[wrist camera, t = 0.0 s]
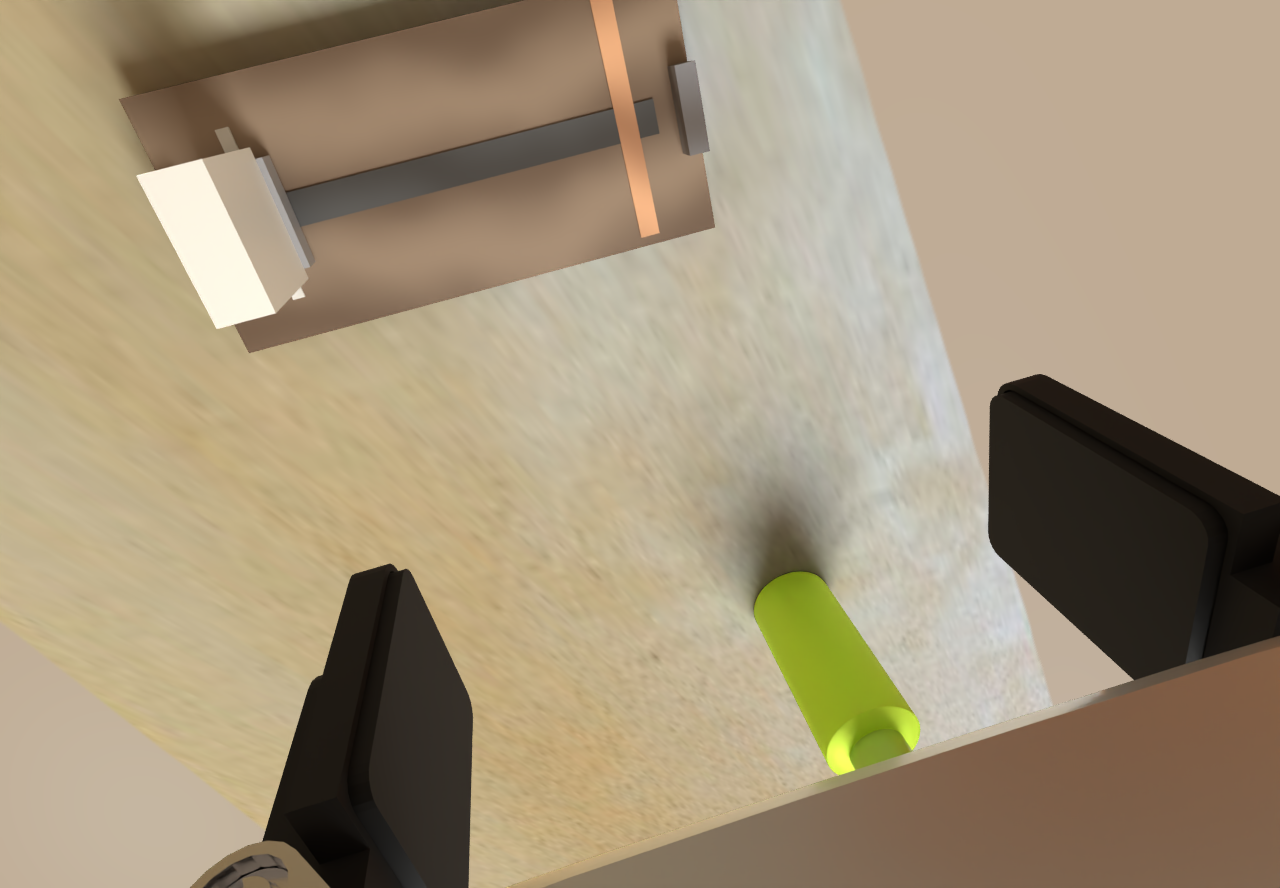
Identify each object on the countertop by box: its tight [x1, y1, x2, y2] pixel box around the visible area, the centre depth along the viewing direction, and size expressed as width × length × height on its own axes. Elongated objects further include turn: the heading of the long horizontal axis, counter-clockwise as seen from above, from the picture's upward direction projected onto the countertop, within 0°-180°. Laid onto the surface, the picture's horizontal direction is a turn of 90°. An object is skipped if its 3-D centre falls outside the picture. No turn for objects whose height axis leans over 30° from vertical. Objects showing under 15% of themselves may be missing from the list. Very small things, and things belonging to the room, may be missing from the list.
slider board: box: [119, 0, 715, 353], centre depth 35 cm, size 12×25×4 cm, turn 103°
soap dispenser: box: [754, 572, 920, 775], centre depth 45 cm, size 6×7×20 cm
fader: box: [136, 147, 316, 329], centre depth 31 cm, size 6×3×7 cm, turn 13°
